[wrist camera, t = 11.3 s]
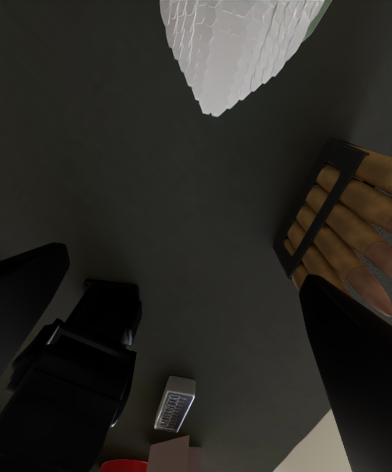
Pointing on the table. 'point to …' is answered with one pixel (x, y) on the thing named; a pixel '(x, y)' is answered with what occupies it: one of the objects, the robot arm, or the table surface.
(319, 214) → the ammunition clip
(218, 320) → the table surface
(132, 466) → the toy clock
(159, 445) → the greeting card
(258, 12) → the pincushion
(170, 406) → the multiport hub
